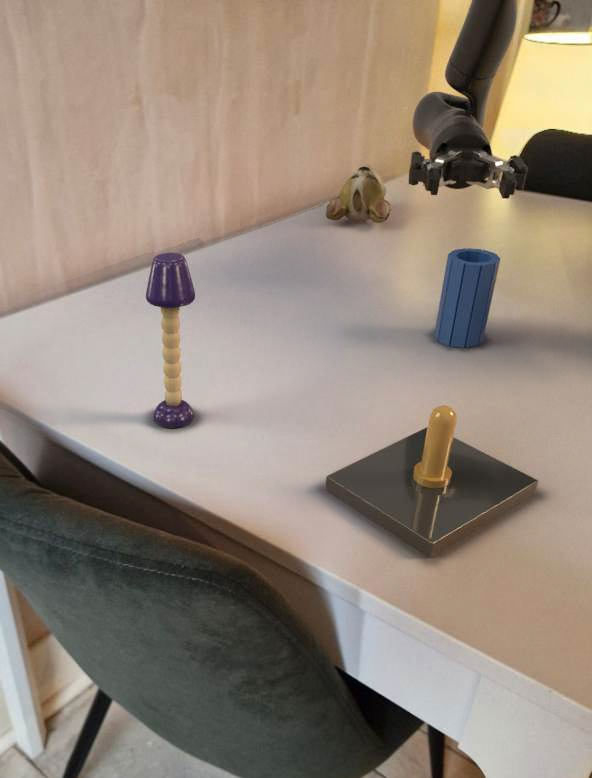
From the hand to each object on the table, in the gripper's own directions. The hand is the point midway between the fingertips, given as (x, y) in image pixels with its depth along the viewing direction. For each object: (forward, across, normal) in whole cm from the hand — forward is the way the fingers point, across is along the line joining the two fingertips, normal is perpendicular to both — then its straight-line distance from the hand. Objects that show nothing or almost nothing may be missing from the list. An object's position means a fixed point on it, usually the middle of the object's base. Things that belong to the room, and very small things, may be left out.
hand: (471, 188), depth 92 cm
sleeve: (+11, 0, +14) cm, 18 cm away
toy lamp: (+34, -31, +14) cm, 48 cm away
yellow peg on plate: (+44, -6, +13) cm, 46 cm away
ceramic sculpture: (-37, -11, +17) cm, 42 cm away
